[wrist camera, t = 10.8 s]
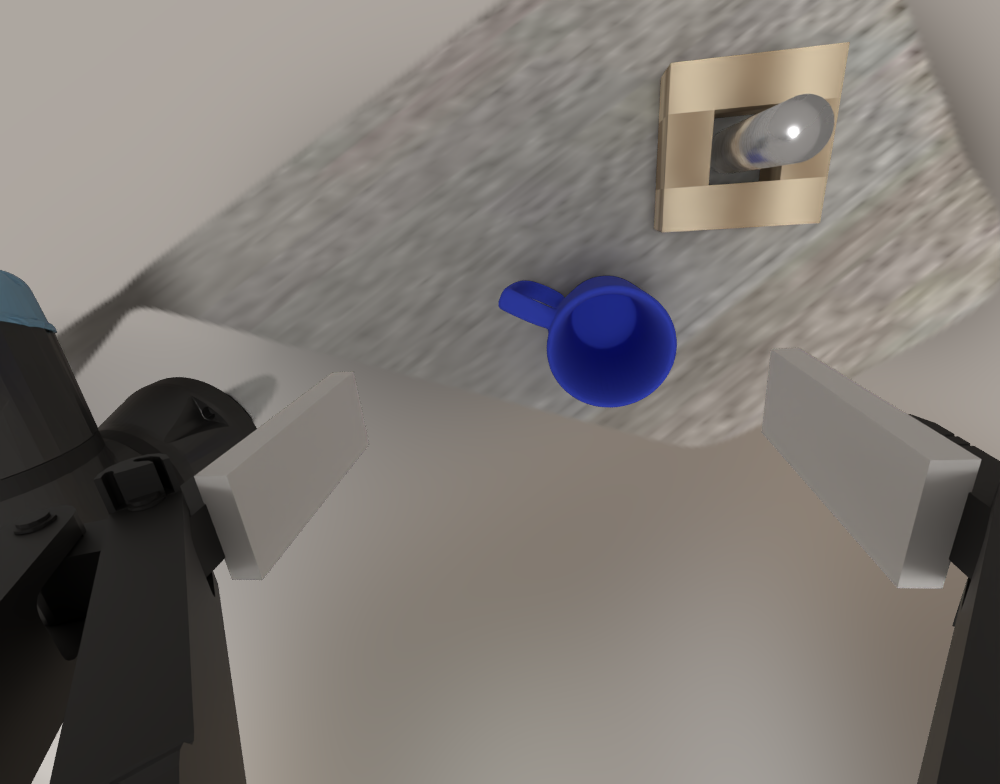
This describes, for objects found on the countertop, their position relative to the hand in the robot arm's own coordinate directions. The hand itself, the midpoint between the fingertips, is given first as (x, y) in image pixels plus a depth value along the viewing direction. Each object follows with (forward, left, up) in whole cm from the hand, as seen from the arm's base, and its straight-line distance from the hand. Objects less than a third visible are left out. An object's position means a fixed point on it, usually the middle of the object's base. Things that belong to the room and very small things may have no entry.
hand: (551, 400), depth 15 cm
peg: (+12, +8, -26) cm, 30 cm away
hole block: (+12, +8, -26) cm, 30 cm away
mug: (+1, -2, -26) cm, 26 cm away
